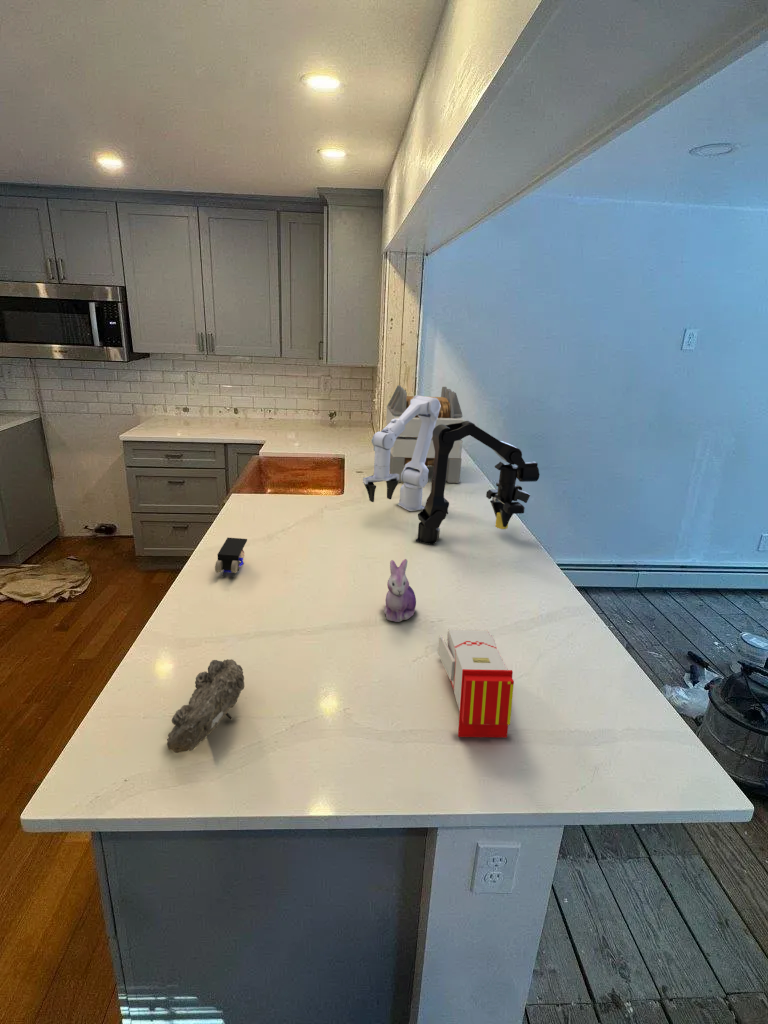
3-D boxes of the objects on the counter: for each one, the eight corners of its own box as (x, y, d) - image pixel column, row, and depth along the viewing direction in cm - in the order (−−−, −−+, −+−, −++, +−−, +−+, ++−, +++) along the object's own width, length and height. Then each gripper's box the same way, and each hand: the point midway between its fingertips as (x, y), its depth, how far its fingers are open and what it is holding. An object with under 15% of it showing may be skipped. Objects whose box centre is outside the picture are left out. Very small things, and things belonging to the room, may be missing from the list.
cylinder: (510, 527, 200) (512, 514, 198) (503, 530, 197) (504, 517, 195) (500, 523, 203) (501, 511, 201) (492, 526, 200) (494, 513, 198)
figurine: (392, 627, 141) (395, 572, 136) (374, 608, 149) (376, 556, 144) (425, 619, 145) (429, 566, 140) (405, 601, 154) (408, 550, 149)
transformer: (382, 463, 289) (386, 382, 275) (445, 464, 293) (451, 384, 279) (390, 482, 257) (394, 392, 243) (460, 483, 261) (468, 394, 247)
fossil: (192, 660, 117) (244, 628, 112) (224, 691, 120) (276, 661, 115) (142, 746, 98) (202, 712, 93) (182, 779, 101) (242, 748, 96)
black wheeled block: (238, 584, 162) (249, 557, 175) (236, 562, 158) (247, 536, 172) (215, 584, 161) (227, 556, 175) (212, 561, 158) (225, 535, 171)
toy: (488, 613, 130) (523, 677, 101) (484, 667, 133) (517, 744, 104) (435, 612, 130) (455, 676, 101) (432, 666, 133) (451, 743, 103)
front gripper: (541, 489, 188) (535, 533, 193) (516, 473, 205) (511, 514, 210) (511, 490, 185) (505, 534, 190) (488, 474, 202) (483, 515, 207)
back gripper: (370, 469, 200) (368, 505, 205) (404, 465, 207) (402, 500, 212) (360, 464, 206) (359, 500, 210) (394, 460, 213) (392, 495, 217)
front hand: (501, 524), depth 200 cm, fingers closed on cylinder, 4 cm apart
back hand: (380, 499), depth 211 cm, fingers open, 7 cm apart
